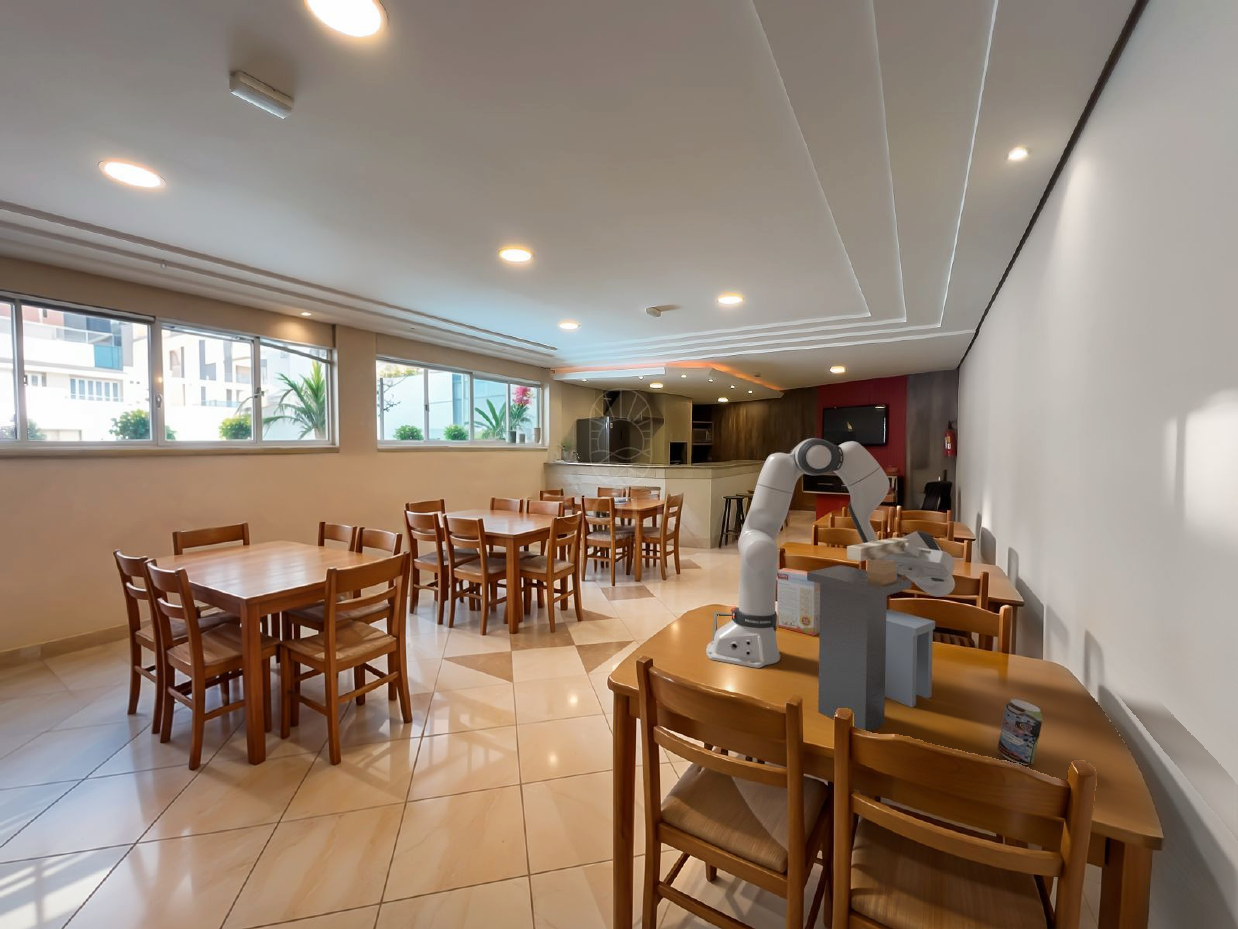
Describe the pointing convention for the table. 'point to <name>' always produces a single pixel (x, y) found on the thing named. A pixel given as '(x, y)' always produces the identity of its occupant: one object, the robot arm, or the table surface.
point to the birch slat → (875, 549)
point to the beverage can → (1020, 731)
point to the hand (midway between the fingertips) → (894, 543)
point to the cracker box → (798, 602)
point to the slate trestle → (908, 657)
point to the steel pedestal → (855, 638)
